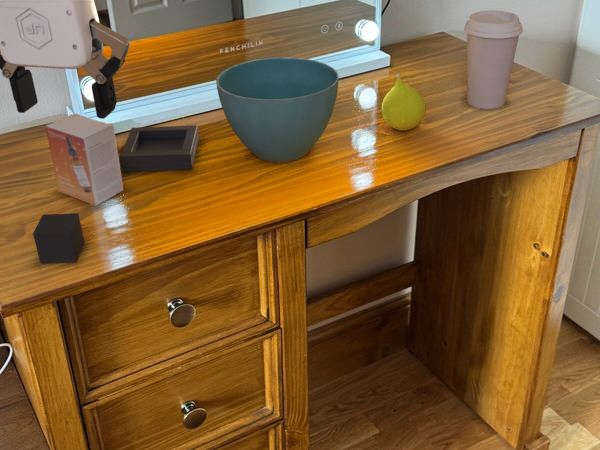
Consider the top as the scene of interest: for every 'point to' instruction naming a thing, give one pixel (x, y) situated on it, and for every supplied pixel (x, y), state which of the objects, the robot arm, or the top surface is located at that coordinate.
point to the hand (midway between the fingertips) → (67, 111)
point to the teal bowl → (278, 104)
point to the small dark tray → (160, 149)
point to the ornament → (403, 106)
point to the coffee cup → (490, 56)
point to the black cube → (58, 238)
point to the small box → (85, 158)
